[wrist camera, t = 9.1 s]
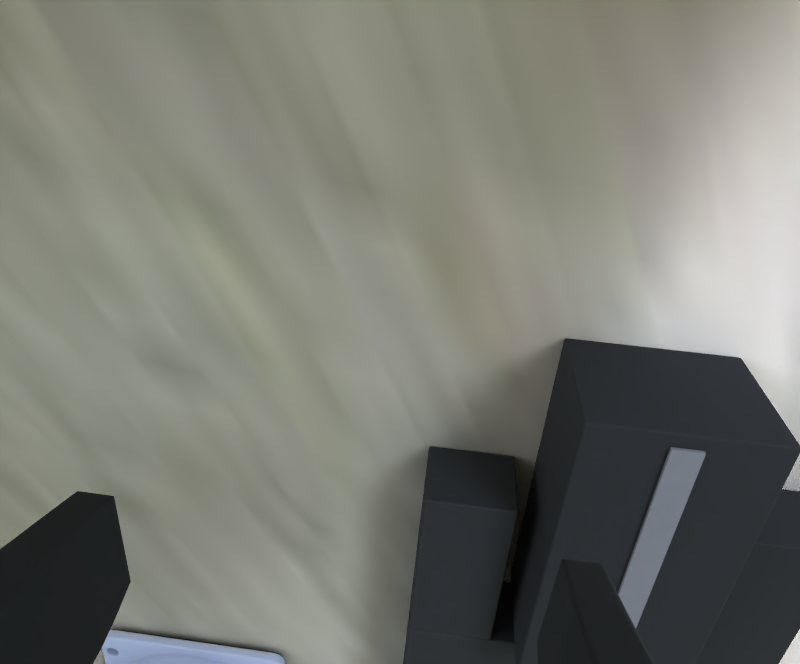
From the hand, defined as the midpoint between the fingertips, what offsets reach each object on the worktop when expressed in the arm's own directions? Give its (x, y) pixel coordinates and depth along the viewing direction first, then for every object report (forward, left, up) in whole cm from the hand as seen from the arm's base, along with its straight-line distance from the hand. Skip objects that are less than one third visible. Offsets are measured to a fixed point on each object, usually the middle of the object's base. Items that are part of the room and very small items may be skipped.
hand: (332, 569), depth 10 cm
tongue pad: (-5, -7, -9) cm, 13 cm away
